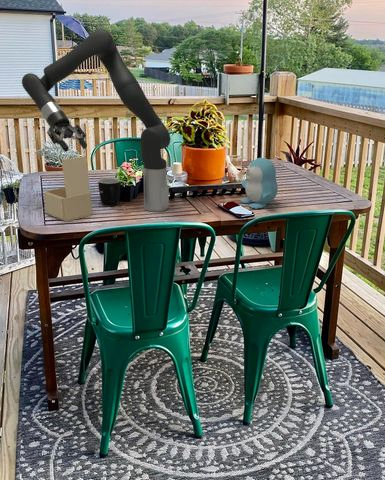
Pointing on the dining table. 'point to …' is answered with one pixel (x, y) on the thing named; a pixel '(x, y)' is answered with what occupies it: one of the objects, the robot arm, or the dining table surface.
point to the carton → (67, 205)
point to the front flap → (76, 176)
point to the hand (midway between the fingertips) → (76, 148)
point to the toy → (260, 183)
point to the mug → (109, 191)
